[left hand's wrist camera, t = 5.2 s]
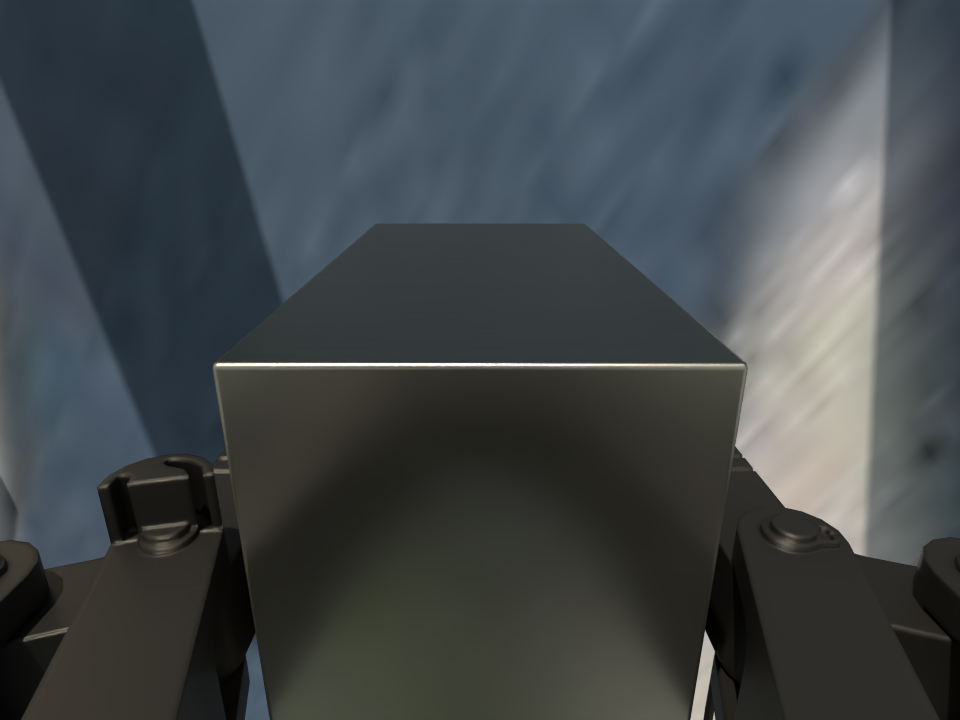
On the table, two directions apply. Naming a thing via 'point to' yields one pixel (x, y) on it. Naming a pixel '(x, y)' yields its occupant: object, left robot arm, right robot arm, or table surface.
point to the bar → (480, 480)
